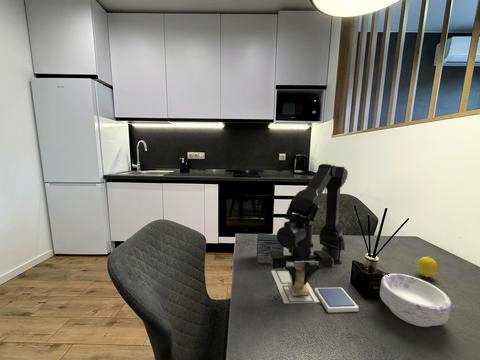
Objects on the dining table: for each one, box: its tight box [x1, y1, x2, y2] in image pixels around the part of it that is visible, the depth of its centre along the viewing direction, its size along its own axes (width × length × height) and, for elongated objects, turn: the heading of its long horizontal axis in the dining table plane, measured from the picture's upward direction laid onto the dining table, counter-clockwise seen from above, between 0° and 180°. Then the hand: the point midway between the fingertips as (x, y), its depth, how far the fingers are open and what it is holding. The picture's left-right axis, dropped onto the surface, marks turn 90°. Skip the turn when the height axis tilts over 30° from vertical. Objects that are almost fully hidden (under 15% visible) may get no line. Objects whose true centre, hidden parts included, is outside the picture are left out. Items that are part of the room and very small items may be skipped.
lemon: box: [417, 256, 438, 278], centre depth 80 cm, size 6×6×8 cm
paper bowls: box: [379, 273, 452, 328], centre depth 61 cm, size 15×15×8 cm
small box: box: [255, 233, 285, 266], centre depth 87 cm, size 11×6×10 cm, turn 84°
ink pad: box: [314, 286, 360, 313], centre depth 66 cm, size 9×9×2 cm
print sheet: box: [270, 269, 321, 305], centre depth 73 cm, size 11×17×1 cm, turn 5°
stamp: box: [288, 267, 309, 297], centre depth 68 cm, size 5×5×7 cm
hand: (298, 284), depth 68 cm, fingers closed on stamp, 3 cm apart
